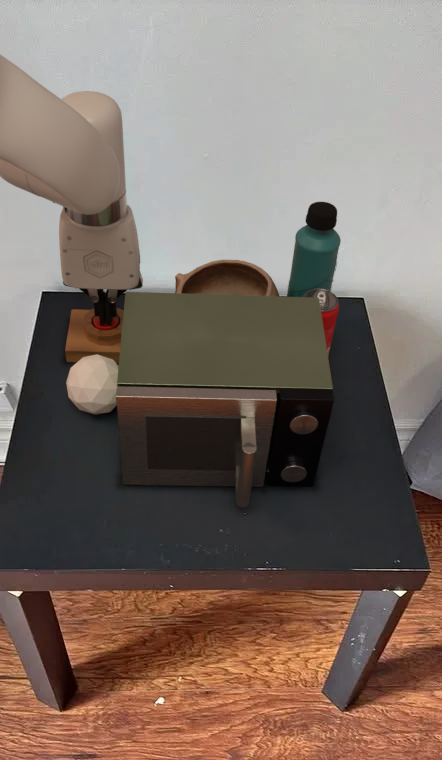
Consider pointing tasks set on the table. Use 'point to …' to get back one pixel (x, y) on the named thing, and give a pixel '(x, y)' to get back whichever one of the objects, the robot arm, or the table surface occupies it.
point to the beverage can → (326, 311)
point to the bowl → (227, 279)
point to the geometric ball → (93, 384)
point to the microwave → (239, 362)
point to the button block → (92, 337)
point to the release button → (105, 327)
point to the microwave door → (195, 436)
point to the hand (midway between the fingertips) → (106, 318)
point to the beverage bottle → (315, 251)
